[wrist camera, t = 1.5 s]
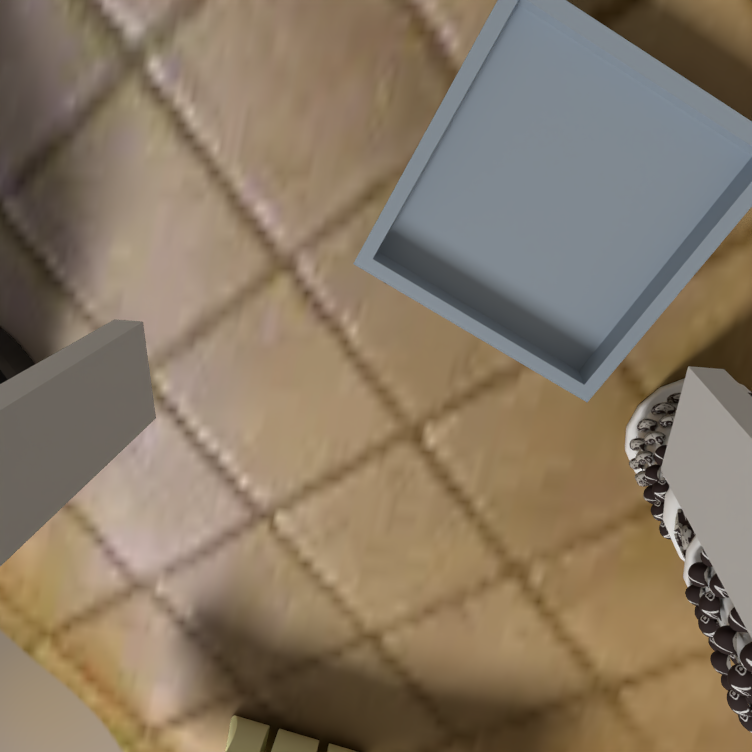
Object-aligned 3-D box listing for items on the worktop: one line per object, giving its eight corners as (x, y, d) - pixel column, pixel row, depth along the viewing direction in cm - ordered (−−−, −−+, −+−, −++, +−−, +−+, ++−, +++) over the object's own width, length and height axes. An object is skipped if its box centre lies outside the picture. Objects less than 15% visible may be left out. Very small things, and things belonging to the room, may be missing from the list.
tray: (362, 252, 36) (353, 263, 33) (511, -19, 29) (515, -33, 26) (578, 381, 37) (587, 402, 34) (768, 148, 30) (797, 151, 28)
